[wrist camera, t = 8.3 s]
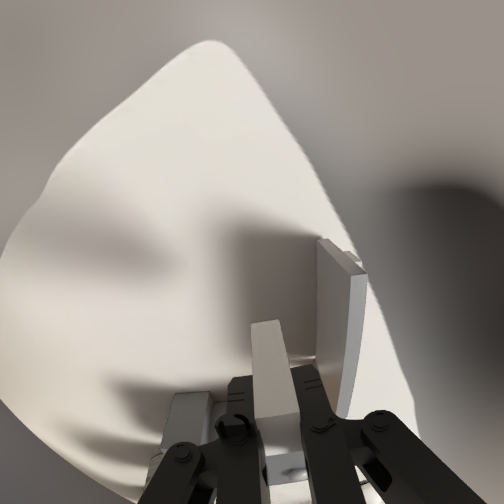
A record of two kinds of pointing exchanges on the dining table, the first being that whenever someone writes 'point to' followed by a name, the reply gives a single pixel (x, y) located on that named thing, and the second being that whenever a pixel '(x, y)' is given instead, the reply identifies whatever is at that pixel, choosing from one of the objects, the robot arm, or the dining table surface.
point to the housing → (203, 431)
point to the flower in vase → (370, 494)
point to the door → (339, 321)
